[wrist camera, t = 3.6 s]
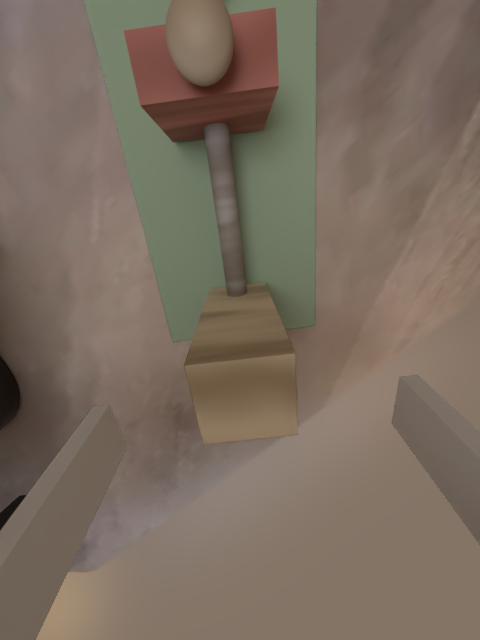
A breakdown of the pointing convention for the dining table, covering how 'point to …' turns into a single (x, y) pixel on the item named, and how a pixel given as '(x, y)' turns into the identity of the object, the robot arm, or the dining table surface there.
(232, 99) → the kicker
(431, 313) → the dining table surface
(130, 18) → the pitch
